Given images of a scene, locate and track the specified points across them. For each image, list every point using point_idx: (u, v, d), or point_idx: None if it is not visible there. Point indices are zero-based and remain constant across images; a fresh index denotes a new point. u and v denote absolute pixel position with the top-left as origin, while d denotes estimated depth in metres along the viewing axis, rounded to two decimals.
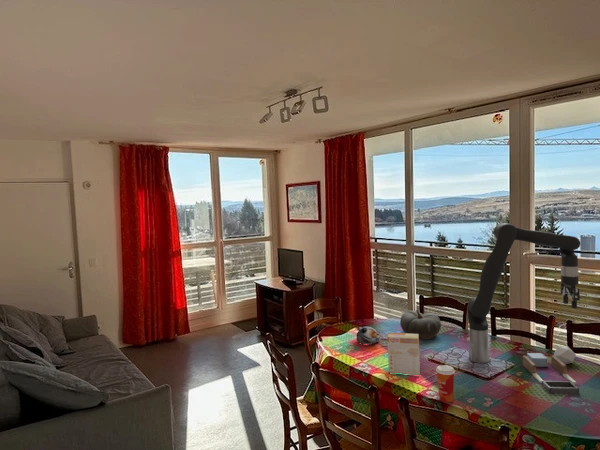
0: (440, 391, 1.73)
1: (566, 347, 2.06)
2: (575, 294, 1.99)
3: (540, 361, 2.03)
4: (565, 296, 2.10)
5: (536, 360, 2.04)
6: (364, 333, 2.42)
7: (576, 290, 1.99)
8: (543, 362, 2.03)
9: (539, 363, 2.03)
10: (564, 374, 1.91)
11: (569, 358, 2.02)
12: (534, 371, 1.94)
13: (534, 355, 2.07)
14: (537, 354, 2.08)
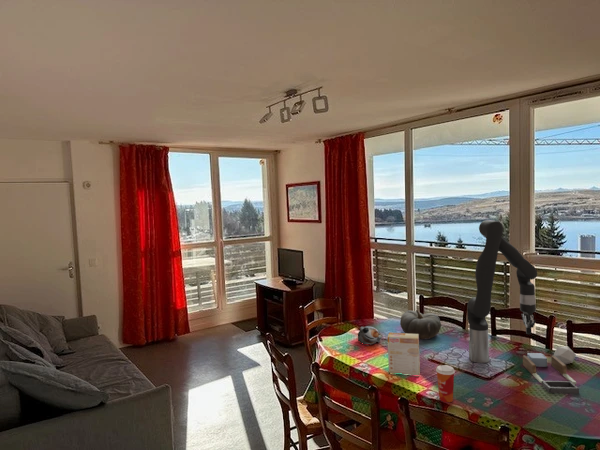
0: (440, 391, 1.73)
1: (566, 347, 2.06)
2: (530, 324, 2.12)
3: (539, 361, 2.03)
4: None
5: (535, 360, 2.04)
6: (366, 333, 2.42)
7: (532, 322, 2.10)
8: (542, 362, 2.03)
9: (539, 363, 2.03)
10: (564, 374, 1.91)
11: (569, 358, 2.02)
12: (534, 371, 1.94)
13: (534, 355, 2.07)
14: (537, 354, 2.08)
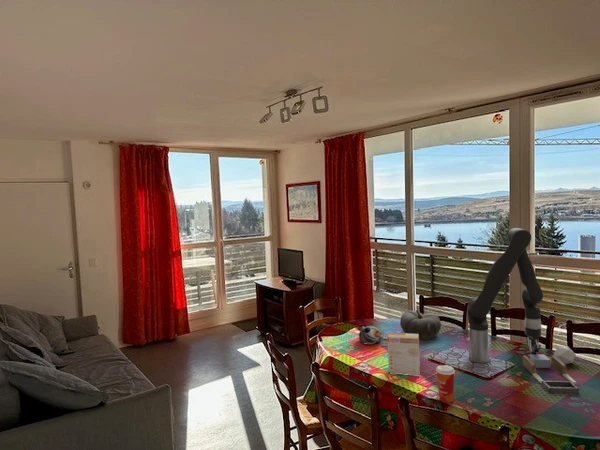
0: (440, 391, 1.73)
1: (566, 347, 2.06)
2: (535, 349, 2.06)
3: (542, 362, 2.02)
4: None
5: (538, 361, 2.02)
6: (367, 333, 2.42)
7: (537, 347, 2.05)
8: (545, 364, 2.01)
9: (542, 365, 2.02)
10: (564, 374, 1.91)
11: (569, 358, 2.02)
12: (534, 371, 1.94)
13: (536, 356, 2.05)
14: (540, 355, 2.06)
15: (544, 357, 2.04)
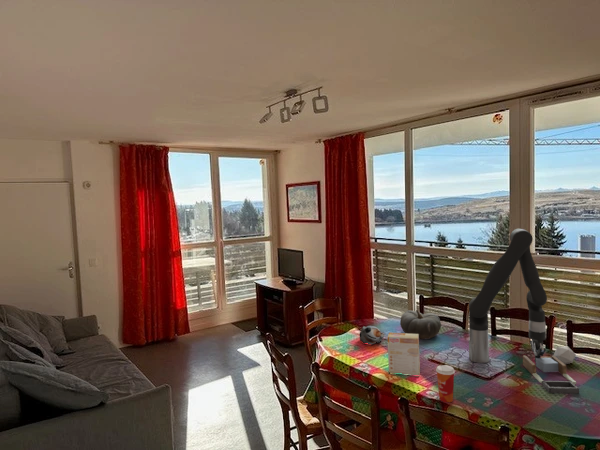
0: (440, 391, 1.73)
1: (566, 347, 2.06)
2: (540, 353, 2.01)
3: (551, 366, 1.97)
4: None
5: (547, 365, 1.97)
6: (368, 332, 2.42)
7: (542, 350, 2.00)
8: (554, 367, 1.97)
9: (550, 369, 1.97)
10: (564, 374, 1.91)
11: (569, 358, 2.02)
12: (534, 371, 1.94)
13: (544, 360, 2.00)
14: (546, 359, 2.02)
15: (551, 360, 1.99)
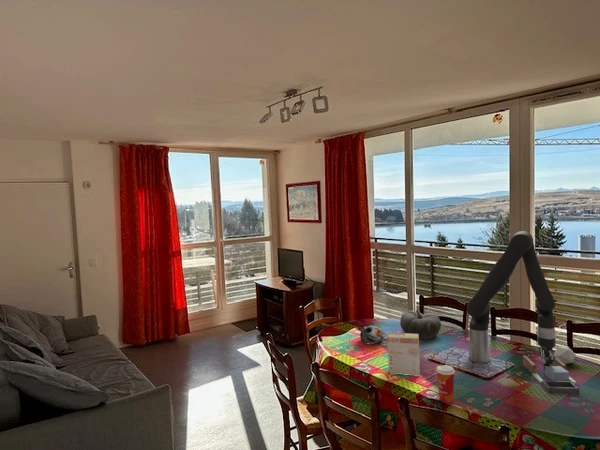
0: (440, 391, 1.73)
1: (566, 347, 2.06)
2: (549, 361, 1.91)
3: (561, 375, 1.86)
4: None
5: (557, 374, 1.87)
6: (369, 332, 2.43)
7: (551, 358, 1.90)
8: (564, 376, 1.86)
9: (561, 378, 1.87)
10: None
11: (569, 358, 2.02)
12: (534, 371, 1.94)
13: (553, 369, 1.90)
14: (556, 367, 1.91)
15: (561, 369, 1.89)
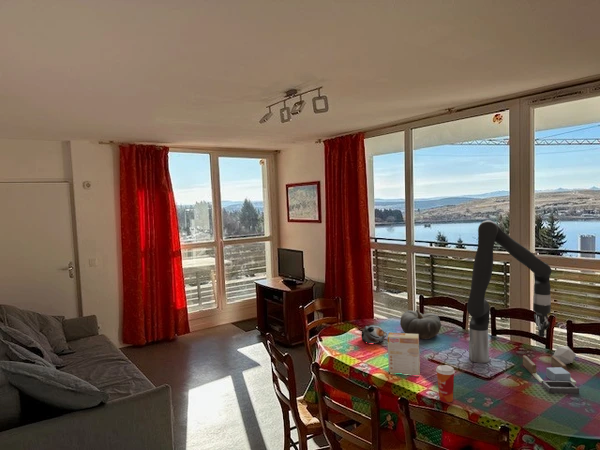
0: (440, 391, 1.73)
1: (566, 347, 2.06)
2: (544, 326, 1.96)
3: (563, 377, 1.85)
4: None
5: (558, 376, 1.85)
6: (371, 332, 2.43)
7: (546, 324, 1.94)
8: (566, 378, 1.85)
9: (562, 379, 1.85)
10: None
11: (569, 358, 2.02)
12: (534, 371, 1.94)
13: (555, 370, 1.88)
14: (558, 369, 1.90)
15: (563, 370, 1.88)
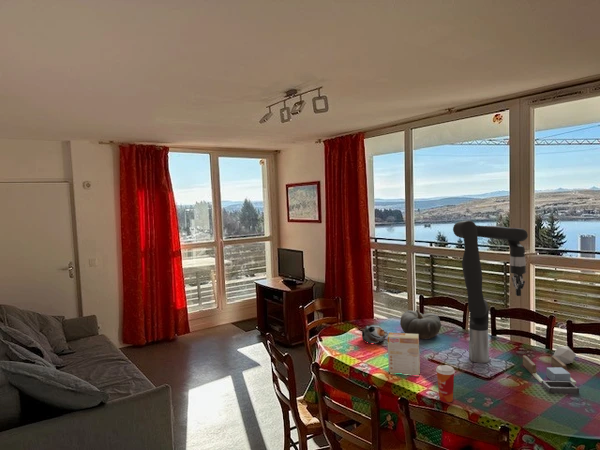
0: (440, 391, 1.73)
1: (566, 347, 2.06)
2: (520, 285, 2.16)
3: (562, 377, 1.85)
4: None
5: (558, 376, 1.85)
6: (372, 332, 2.43)
7: (521, 283, 2.15)
8: (566, 378, 1.85)
9: (562, 379, 1.85)
10: None
11: (569, 358, 2.02)
12: (534, 371, 1.94)
13: (555, 370, 1.88)
14: (558, 369, 1.90)
15: (563, 370, 1.88)
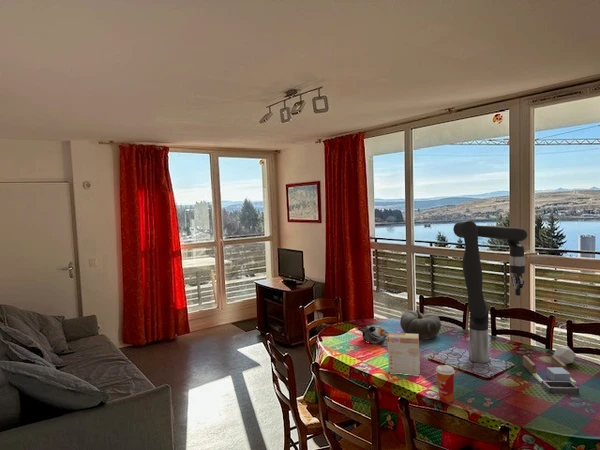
0: (440, 391, 1.73)
1: (566, 347, 2.06)
2: (519, 285, 2.17)
3: (562, 377, 1.85)
4: None
5: (558, 376, 1.85)
6: (373, 332, 2.43)
7: (521, 282, 2.15)
8: (565, 378, 1.85)
9: (562, 379, 1.85)
10: None
11: (569, 358, 2.02)
12: (534, 371, 1.94)
13: (555, 370, 1.88)
14: (558, 369, 1.90)
15: (563, 371, 1.88)
